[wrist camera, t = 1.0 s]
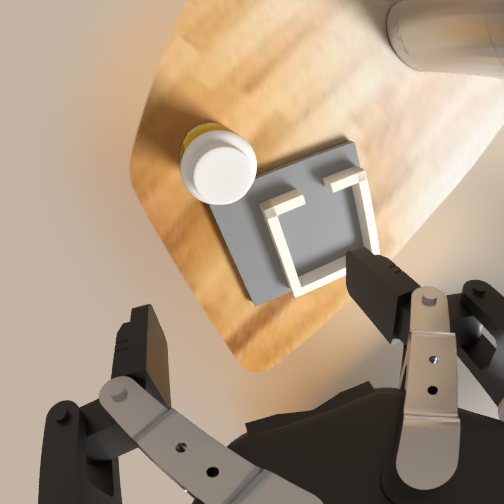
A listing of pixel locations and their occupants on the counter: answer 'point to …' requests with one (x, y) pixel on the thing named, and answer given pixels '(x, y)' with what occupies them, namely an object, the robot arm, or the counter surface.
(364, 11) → the counter surface
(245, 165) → the supplement bottle
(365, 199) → the grey board with frame
